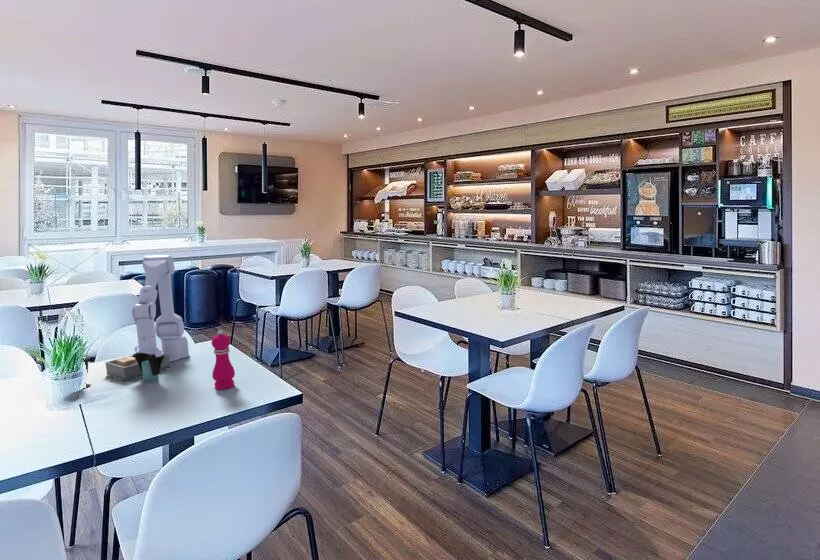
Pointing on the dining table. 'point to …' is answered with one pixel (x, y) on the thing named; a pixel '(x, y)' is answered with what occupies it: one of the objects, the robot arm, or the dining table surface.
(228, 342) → the pepper mill
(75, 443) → the dining table surface
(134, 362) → the oak cube
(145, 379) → the teal block
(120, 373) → the tote
